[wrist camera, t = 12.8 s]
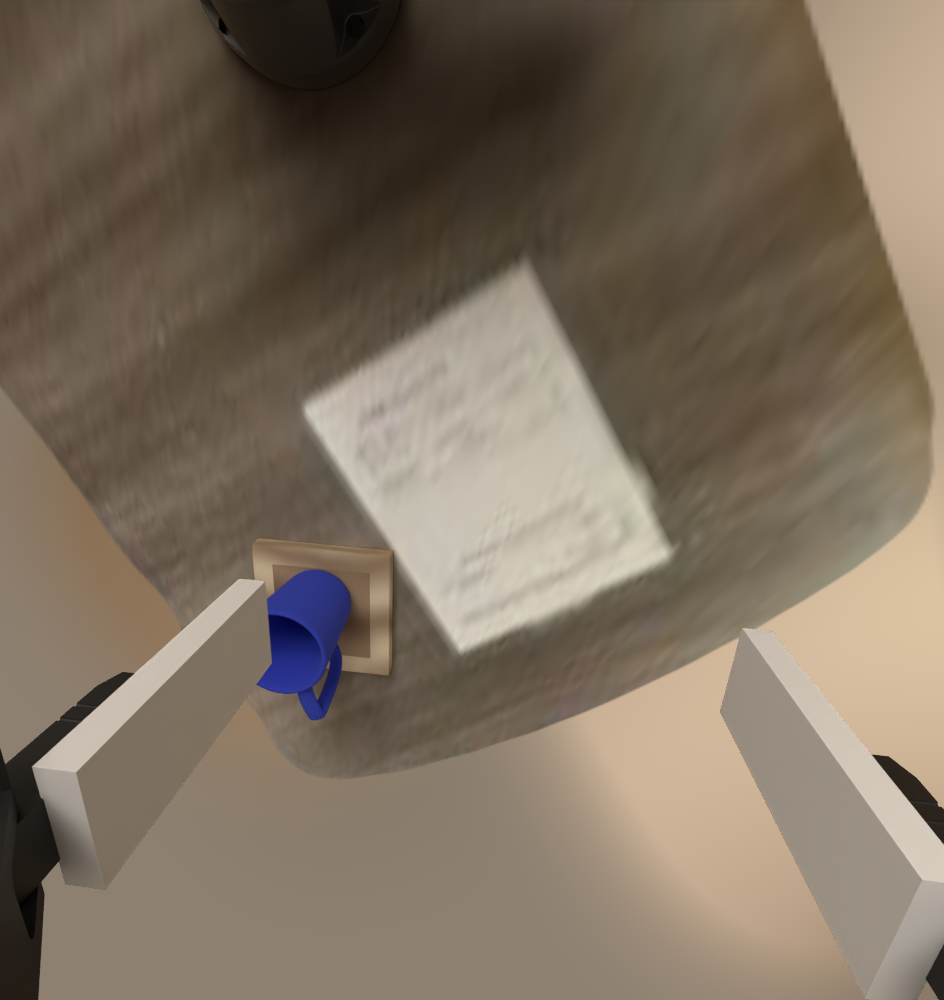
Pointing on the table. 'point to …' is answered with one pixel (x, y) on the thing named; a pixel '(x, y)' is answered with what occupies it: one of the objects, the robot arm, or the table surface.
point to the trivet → (366, 584)
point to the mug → (307, 638)
